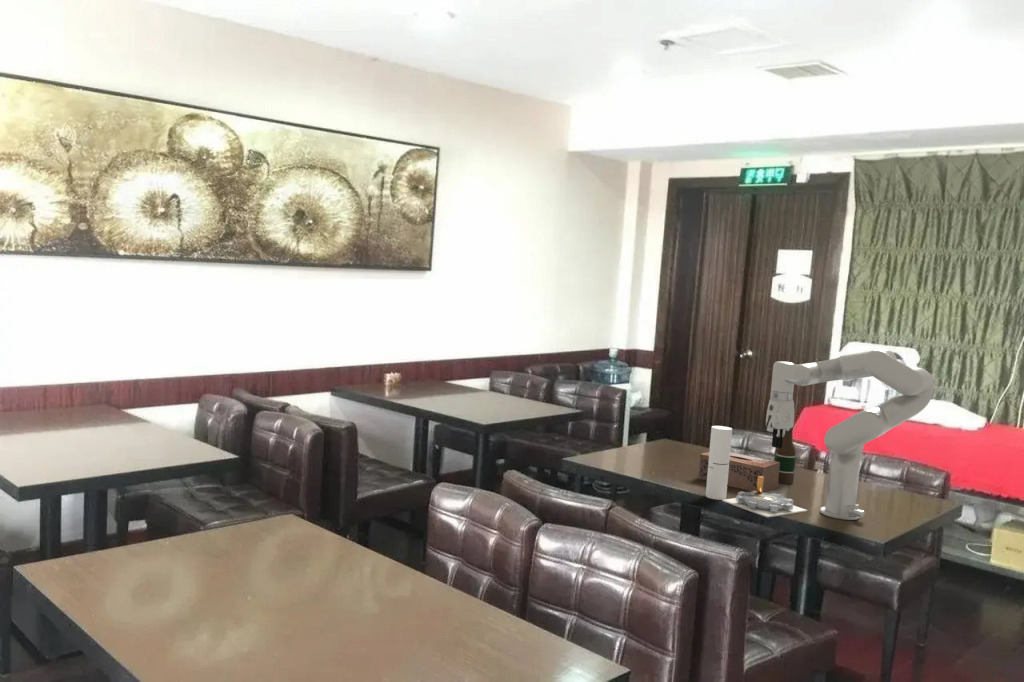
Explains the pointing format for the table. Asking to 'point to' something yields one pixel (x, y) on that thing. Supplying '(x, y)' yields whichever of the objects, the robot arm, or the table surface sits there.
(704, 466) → the tissue box cover
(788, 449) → the beer bottle
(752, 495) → the sprocket
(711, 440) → the cylindrical container
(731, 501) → the sprocket base
